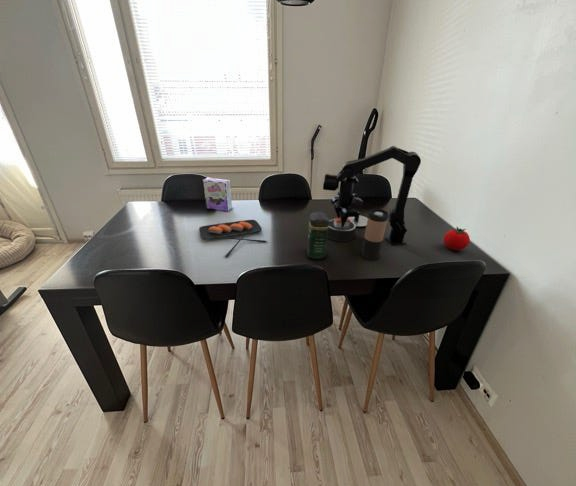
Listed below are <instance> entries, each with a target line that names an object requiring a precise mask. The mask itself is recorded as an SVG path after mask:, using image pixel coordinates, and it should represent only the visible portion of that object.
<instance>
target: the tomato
mask: <svg viewBox="0 0 576 486" xmlns="http://www.w3.org/2000/svg"><path fill="white" fill-rule="evenodd" d="M470 241H471V238H470V235H469V233H468V232H466V228H463V229H462V228H459V227H458V226H456V229H455V228H452V229H450V230H448V231H447V232H446V233H445V234H444V236H443V244H444V246H445V247H446V248H447V249H449V250H451V251H462V250H464V249H466V248H467V247H468V246H469V244H470Z"/></svg>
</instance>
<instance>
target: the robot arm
mask: <svg viewBox="0 0 576 486" xmlns="http://www.w3.org/2000/svg"><path fill="white" fill-rule="evenodd" d="M391 159H394V160H395V161H397V162H399V163H401V164H402V178H401V182H400V185H399V189H398V194H397V196H396V197H397V198H396V202H395V205H394V207H393V208H389V213H388V219H387V220H388V223H389V224H390V228H391V229H390V233H389V237H386V240H387V241H388V242H389V243H390V244H391V245H392V246H395V245H397V246H398V245H405V244H406V241H404V238H405V234H406V233H407V232H408V228H407V225H406V221H405V208H406V205H407V201H408V197H409V194H410V189H411V186H412V182H413V180H414V176H415V175H416V173H417V172H418V170H419V168H420V166H421V162H422V159H421V156H420V155H419V154H418V153H417V152H416V151H407V150H405V149H402V148H399V147H397V146H396V145H391V146H390V147H388V148H385V149H383V150H381V151H378V152H376V153H373V154H371V155H368V156H366V157H363V158H358V159H352V160H348V161H345V162H344V163H343V165H342V169H341V170H339V172H338V173H337V174H329V173H325V174H324V179H323V183H322V190H324V191H333V192H335V191H337V190H338V189H339V191H337V196H332V197H331V200H330V203H331V204H332V205H333V208H334V211H335V213H336V214H335V215H336V216H337V217H336V218H340V219H341V224H342V225H345V223H346V221H347V219H348V217H357V215H358V212H357V211H358V210H357V209H356V208H354V206H355V207H358V208H361V207H362V206H363V203H364V201H363V200H362V198H360V197H358V194H357V193H353V190H354V184H358V183H359V179H358V178H357V175H358V174H360V173H361V172H362V171H364V170H366V169H368V168H371V167H373V166H376V165H378V164H381V163H383V162H386V161H388V160H391Z"/></svg>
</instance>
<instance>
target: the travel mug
mask: <svg viewBox="0 0 576 486" xmlns="http://www.w3.org/2000/svg"><path fill="white" fill-rule="evenodd" d="M388 215H389V212H388V211H387V210H384V209H380V208H372V209H370V210H369V212H368V216H367V218H368V221H367V226H365V231H364V236H363V242H362V249H361V257H363V258H364V259H365V260H377V259H378V258H379V255H380V251H381V248H382V244H383V241H384V237H385V232H386V227H387V223H388V220H389V219H388Z"/></svg>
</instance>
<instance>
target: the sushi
mask: <svg viewBox="0 0 576 486" xmlns="http://www.w3.org/2000/svg"><path fill="white" fill-rule="evenodd" d="M333 219H334V225H335V227H347V226H349V222H350V220H349V219H347V221H346V223H345V225H342V224H341V219H340V218H338V217H334V218H333Z"/></svg>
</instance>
